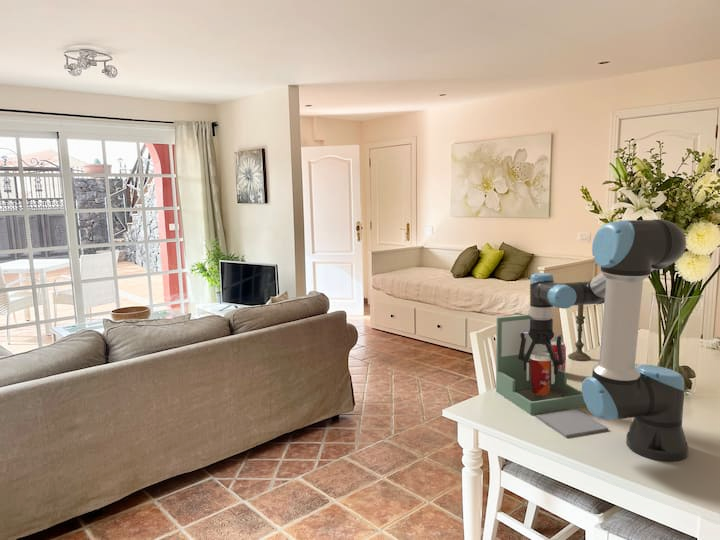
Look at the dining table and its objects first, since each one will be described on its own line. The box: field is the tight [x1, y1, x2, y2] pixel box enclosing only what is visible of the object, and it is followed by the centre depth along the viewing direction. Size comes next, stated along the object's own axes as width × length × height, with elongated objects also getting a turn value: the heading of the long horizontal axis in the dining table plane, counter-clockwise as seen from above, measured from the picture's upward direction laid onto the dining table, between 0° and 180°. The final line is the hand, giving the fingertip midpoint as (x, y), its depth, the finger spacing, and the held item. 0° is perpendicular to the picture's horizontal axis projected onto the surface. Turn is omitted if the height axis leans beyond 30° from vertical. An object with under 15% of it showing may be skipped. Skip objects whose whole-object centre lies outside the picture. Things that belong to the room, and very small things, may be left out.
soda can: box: [550, 340, 567, 373], centre depth 207 cm, size 7×7×13 cm
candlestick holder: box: [567, 305, 591, 362], centre depth 225 cm, size 9×9×30 cm
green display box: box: [495, 314, 587, 416], centre depth 182 cm, size 22×22×28 cm
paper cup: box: [529, 352, 552, 396], centre depth 182 cm, size 8×8×14 cm
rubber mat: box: [535, 408, 609, 438], centre depth 163 cm, size 15×15×1 cm
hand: (540, 381), depth 182 cm, fingers closed on paper cup, 8 cm apart
